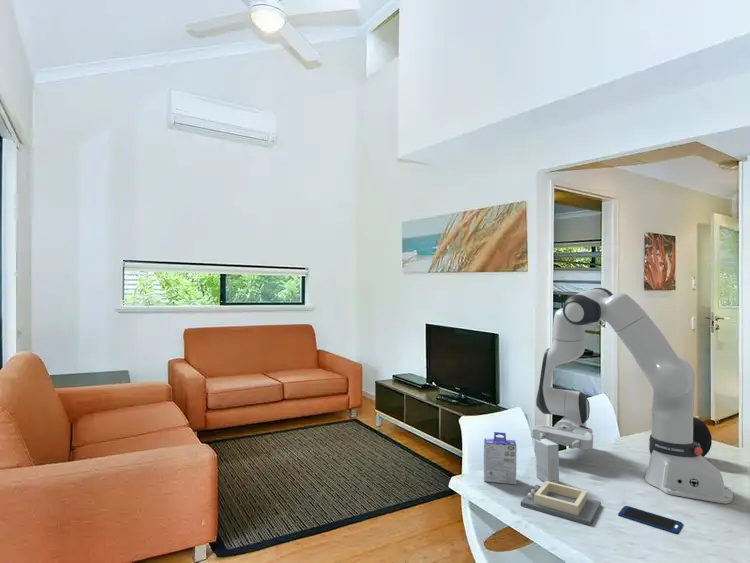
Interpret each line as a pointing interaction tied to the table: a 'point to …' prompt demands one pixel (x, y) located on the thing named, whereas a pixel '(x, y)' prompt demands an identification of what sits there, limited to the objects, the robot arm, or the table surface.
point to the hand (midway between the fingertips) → (556, 443)
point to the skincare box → (547, 461)
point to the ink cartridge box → (500, 460)
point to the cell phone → (651, 519)
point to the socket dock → (562, 502)
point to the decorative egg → (701, 435)
